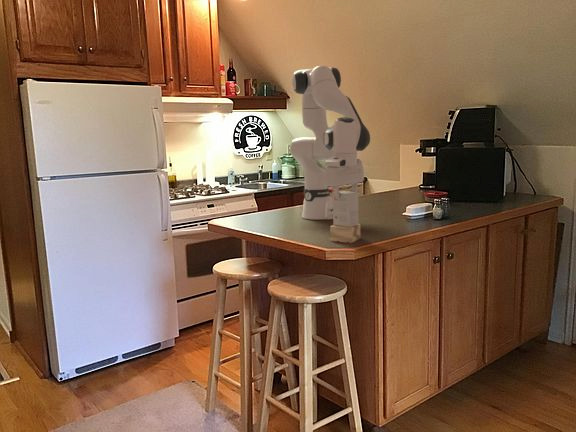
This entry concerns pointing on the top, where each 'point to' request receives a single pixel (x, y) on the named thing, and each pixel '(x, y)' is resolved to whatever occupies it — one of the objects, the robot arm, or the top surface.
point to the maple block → (345, 233)
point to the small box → (346, 209)
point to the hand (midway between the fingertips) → (345, 196)
